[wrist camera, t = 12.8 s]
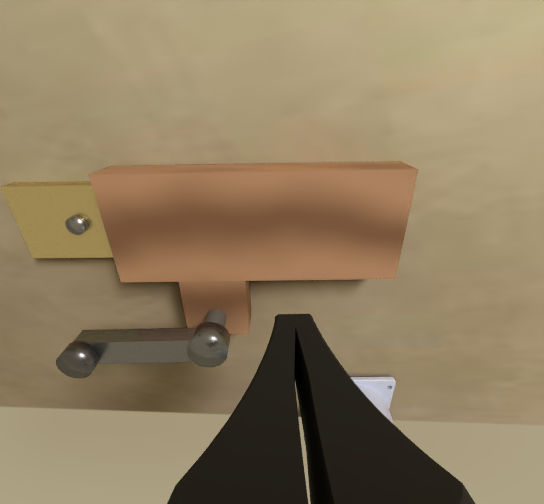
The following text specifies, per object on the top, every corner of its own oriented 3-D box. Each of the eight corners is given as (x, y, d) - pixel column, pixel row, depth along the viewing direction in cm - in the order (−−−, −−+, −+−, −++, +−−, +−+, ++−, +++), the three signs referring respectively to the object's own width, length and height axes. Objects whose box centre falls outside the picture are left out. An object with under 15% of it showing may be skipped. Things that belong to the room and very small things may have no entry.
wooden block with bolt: (129, 247, 21) (116, 260, 20) (48, 248, 21) (28, 260, 20) (110, 179, 19) (94, 187, 17) (19, 180, 19) (-5, 188, 17)
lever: (228, 321, 18) (222, 348, 16) (231, 349, 19) (227, 377, 17) (73, 325, 18) (49, 351, 16) (85, 352, 19) (64, 380, 17)
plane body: (373, 310, 23) (393, 351, 19) (149, 313, 23) (125, 354, 20) (400, 161, 18) (434, 177, 14) (110, 166, 18) (67, 182, 14)
